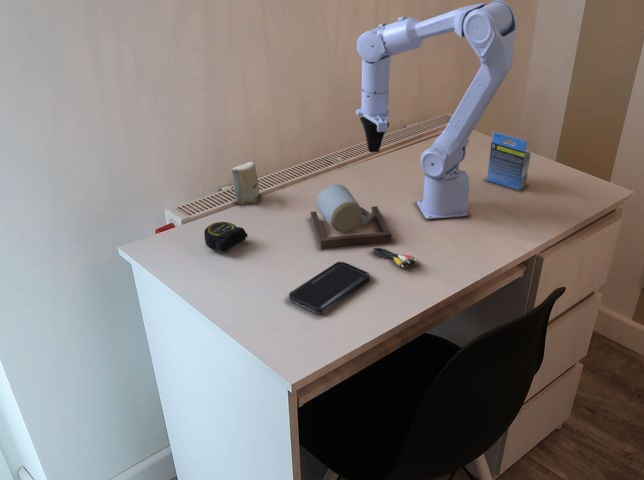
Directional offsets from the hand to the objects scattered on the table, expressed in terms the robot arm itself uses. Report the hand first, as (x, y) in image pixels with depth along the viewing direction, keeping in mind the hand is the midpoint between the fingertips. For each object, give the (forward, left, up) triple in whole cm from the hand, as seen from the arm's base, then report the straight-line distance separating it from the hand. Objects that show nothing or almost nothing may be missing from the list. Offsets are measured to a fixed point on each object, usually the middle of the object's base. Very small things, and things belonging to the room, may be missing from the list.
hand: (373, 151), depth 159 cm
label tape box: (-32, +2, -10) cm, 33 cm away
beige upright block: (+28, 0, -10) cm, 30 cm away
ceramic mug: (+9, +14, -10) cm, 19 cm away
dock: (+9, +17, -9) cm, 21 cm away
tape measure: (+34, +19, -10) cm, 40 cm away
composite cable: (+3, +30, -10) cm, 32 cm away
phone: (+17, +38, -9) cm, 43 cm away
